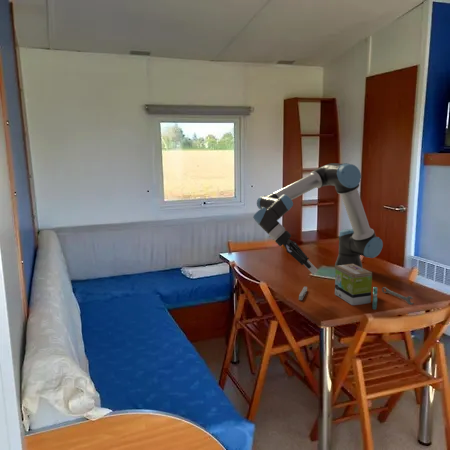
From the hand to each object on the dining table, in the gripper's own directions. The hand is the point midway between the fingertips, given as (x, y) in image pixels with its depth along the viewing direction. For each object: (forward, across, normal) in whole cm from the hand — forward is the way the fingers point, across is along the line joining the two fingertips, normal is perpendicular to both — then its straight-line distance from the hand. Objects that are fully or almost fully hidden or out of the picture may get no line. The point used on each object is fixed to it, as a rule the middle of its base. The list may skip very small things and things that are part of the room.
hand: (315, 272), depth 194 cm
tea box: (+20, -2, +3) cm, 21 cm away
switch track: (+17, 0, 0) cm, 17 cm away
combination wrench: (+35, -10, +16) cm, 39 cm away
